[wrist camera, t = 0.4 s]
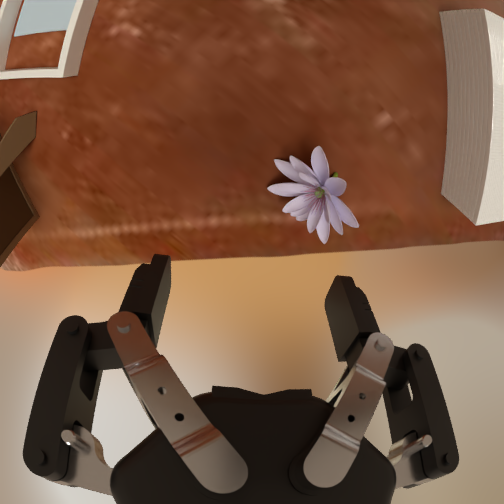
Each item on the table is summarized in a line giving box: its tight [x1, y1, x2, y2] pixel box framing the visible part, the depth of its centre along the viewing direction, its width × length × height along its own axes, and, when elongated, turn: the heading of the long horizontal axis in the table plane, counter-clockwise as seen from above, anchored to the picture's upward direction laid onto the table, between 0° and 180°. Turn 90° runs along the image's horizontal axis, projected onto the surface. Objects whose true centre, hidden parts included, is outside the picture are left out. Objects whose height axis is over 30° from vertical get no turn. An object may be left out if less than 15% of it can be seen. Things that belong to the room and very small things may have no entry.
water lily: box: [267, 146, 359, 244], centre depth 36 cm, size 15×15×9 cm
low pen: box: [0, 0, 99, 79], centre depth 18 cm, size 22×18×4 cm
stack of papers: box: [439, 9, 504, 225], centre depth 26 cm, size 32×11×11 cm, turn 9°
